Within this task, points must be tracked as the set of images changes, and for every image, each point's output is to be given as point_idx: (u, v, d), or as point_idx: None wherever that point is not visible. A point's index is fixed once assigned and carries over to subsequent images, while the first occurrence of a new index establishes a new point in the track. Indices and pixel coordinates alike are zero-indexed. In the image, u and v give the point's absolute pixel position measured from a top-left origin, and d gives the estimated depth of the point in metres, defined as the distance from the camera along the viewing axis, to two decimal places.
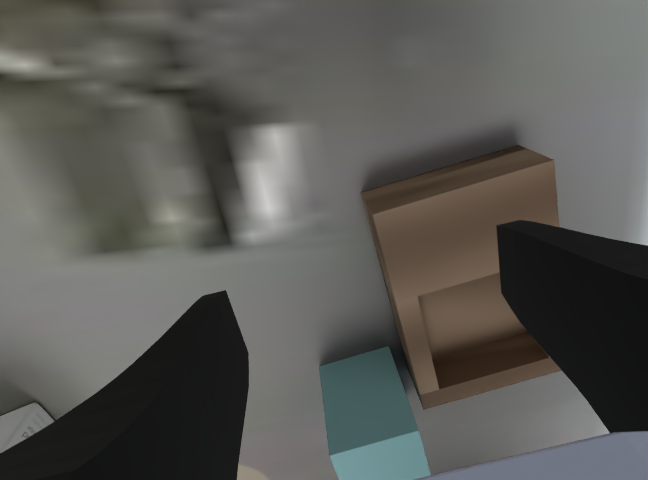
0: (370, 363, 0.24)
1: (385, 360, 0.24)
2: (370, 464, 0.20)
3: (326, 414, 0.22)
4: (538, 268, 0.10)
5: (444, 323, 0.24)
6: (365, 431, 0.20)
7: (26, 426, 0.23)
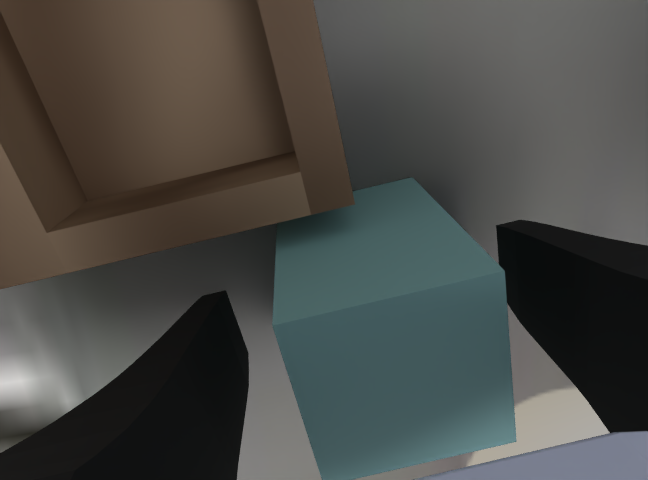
0: None
1: None
2: (366, 417, 0.09)
3: None
4: (538, 267, 0.10)
5: (201, 115, 0.11)
6: None
7: None
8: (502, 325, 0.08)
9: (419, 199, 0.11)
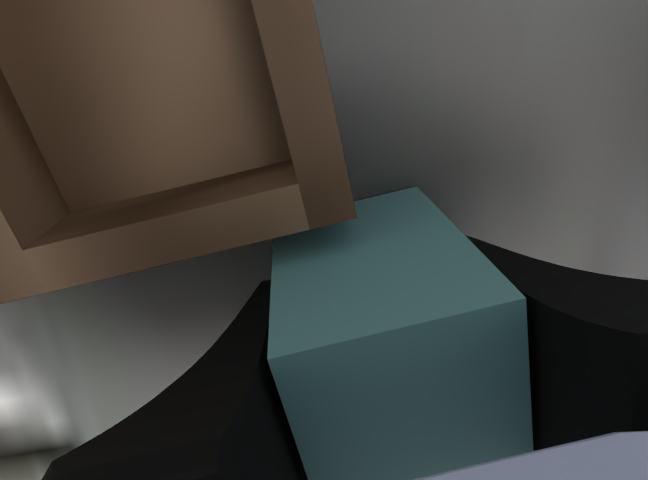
0: None
1: None
2: (370, 456, 0.08)
3: None
4: None
5: (192, 122, 0.10)
6: None
7: None
8: (522, 357, 0.07)
9: (426, 211, 0.11)
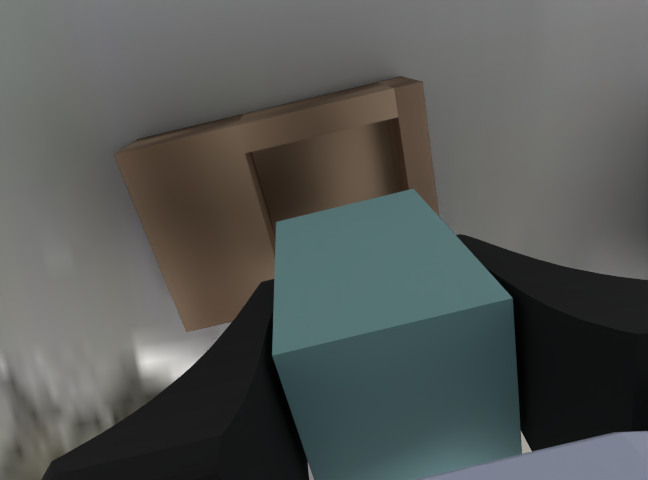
0: None
1: None
2: (369, 445, 0.08)
3: None
4: None
5: None
6: None
7: None
8: (509, 353, 0.08)
9: (421, 214, 0.11)
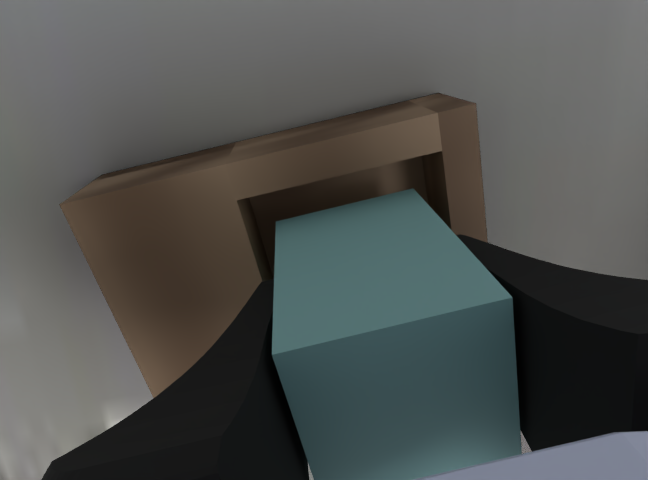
0: None
1: None
2: (368, 444, 0.08)
3: None
4: None
5: None
6: None
7: None
8: (509, 352, 0.08)
9: (421, 213, 0.11)
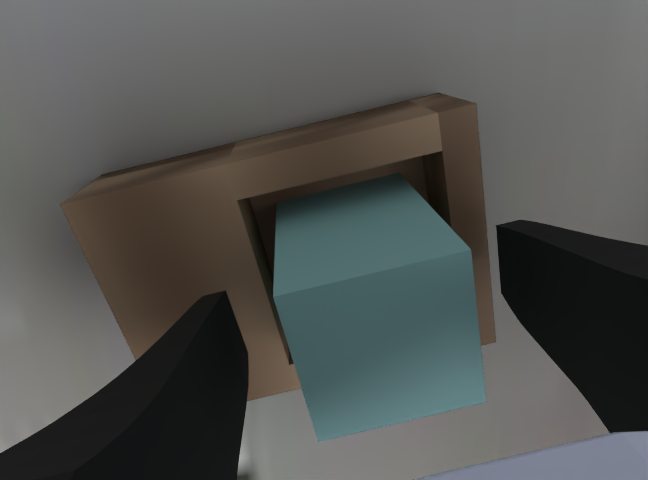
0: None
1: None
2: (354, 379, 0.10)
3: None
4: (538, 267, 0.10)
5: None
6: None
7: None
8: (471, 297, 0.09)
9: (404, 192, 0.13)
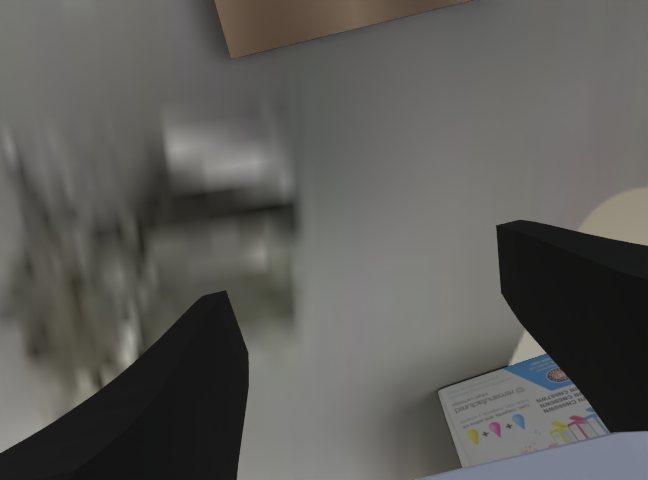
0: None
1: None
2: None
3: None
4: (538, 267, 0.10)
5: None
6: None
7: (451, 406, 0.25)
8: None
9: None
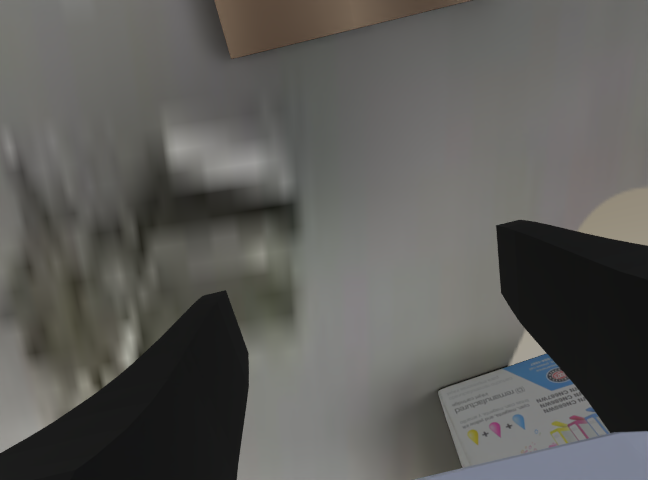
0: None
1: None
2: None
3: None
4: (538, 267, 0.10)
5: None
6: None
7: (451, 406, 0.25)
8: None
9: None
